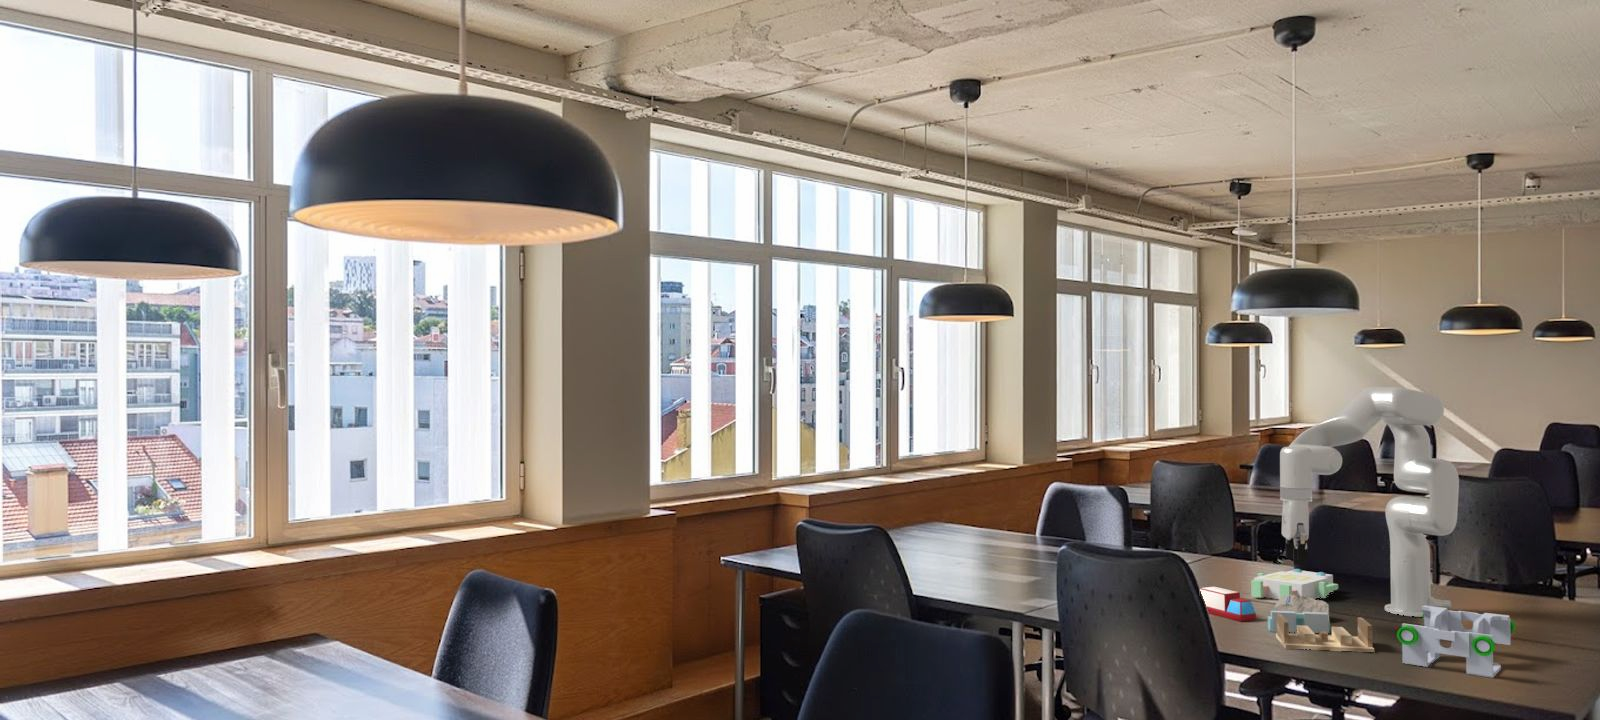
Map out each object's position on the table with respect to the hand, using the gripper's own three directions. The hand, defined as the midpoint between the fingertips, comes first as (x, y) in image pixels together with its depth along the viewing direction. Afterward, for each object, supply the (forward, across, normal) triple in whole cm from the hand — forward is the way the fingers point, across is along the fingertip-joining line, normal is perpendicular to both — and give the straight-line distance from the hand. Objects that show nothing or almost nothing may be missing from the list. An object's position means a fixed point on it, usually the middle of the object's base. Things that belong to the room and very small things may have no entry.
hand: (1296, 561), depth 282 cm
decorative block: (+18, -45, +8) cm, 49 cm away
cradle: (+18, +15, +3) cm, 23 cm away
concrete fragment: (+18, -15, +5) cm, 24 cm away
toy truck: (+18, -14, -15) cm, 27 cm away
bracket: (+18, +25, +29) cm, 42 cm away
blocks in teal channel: (+18, +2, 0) cm, 18 cm away
